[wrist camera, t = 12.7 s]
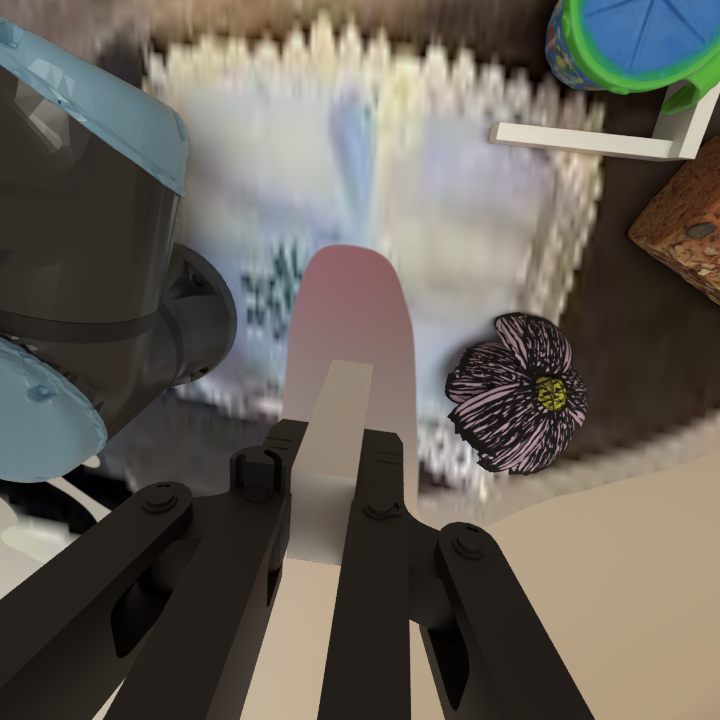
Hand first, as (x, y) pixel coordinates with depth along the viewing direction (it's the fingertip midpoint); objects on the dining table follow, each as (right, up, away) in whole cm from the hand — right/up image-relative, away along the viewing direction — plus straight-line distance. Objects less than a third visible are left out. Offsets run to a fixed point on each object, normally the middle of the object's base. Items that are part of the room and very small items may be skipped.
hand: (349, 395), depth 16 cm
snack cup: (+19, +27, +18) cm, 38 cm away
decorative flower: (+16, 0, +30) cm, 34 cm away
